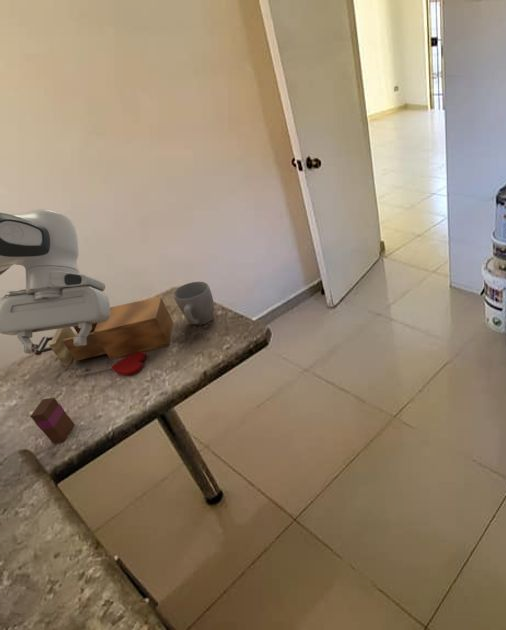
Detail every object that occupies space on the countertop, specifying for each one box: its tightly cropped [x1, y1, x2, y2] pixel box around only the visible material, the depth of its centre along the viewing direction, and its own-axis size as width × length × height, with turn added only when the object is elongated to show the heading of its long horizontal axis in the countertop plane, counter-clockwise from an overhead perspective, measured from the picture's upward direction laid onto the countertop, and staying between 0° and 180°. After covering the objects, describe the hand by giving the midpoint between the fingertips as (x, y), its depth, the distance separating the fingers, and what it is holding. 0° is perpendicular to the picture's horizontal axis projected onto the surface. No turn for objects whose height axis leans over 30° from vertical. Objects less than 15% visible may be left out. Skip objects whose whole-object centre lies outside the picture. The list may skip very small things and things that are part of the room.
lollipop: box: [74, 351, 147, 377], centre depth 104 cm, size 8×1×15 cm
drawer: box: [34, 323, 107, 367], centre depth 108 cm, size 17×10×7 cm, turn 111°
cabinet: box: [94, 296, 174, 360], centre depth 112 cm, size 14×11×9 cm
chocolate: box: [30, 397, 76, 444], centre depth 86 cm, size 2×5×8 cm, turn 11°
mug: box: [173, 281, 215, 326], centre depth 116 cm, size 12×9×10 cm
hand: (55, 349), depth 90 cm, fingers open, 8 cm apart
